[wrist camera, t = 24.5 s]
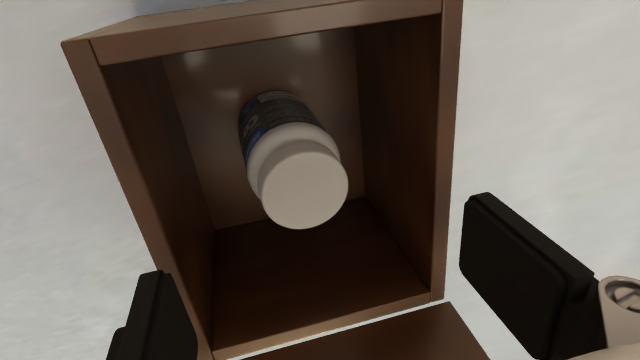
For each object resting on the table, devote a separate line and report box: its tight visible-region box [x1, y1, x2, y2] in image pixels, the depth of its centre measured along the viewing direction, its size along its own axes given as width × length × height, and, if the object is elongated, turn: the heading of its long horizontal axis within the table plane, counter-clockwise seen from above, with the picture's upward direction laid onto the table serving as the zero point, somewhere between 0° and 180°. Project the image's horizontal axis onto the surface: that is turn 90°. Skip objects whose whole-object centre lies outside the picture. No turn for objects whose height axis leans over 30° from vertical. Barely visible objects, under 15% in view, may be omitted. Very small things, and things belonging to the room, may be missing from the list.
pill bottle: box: [238, 91, 348, 229], centre depth 20 cm, size 5×5×8 cm
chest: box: [61, 0, 463, 360], centre depth 20 cm, size 15×13×11 cm
